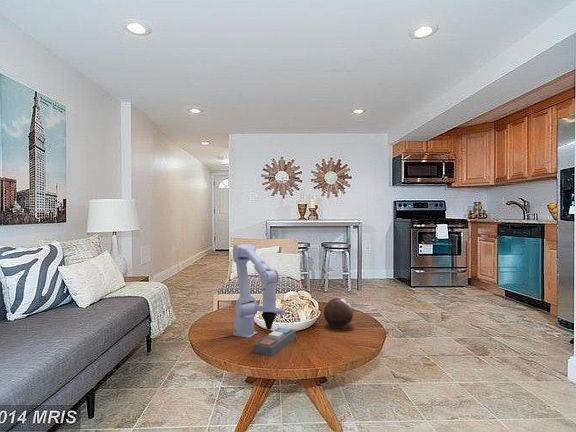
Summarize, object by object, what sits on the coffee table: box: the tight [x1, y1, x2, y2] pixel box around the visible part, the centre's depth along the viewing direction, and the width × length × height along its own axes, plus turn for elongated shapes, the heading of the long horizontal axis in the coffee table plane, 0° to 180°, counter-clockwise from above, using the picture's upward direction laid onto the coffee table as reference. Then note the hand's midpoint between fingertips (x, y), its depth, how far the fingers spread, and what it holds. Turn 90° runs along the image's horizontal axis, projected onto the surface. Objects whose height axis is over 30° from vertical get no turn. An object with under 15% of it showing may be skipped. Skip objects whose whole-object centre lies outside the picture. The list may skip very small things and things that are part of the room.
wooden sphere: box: [323, 297, 354, 329], centre depth 180 cm, size 15×15×15 cm
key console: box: [253, 327, 297, 357], centre depth 156 cm, size 9×24×4 cm, turn 154°
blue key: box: [277, 327, 292, 334], centre depth 164 cm, size 5×5×2 cm
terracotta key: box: [259, 339, 275, 346], centre depth 149 cm, size 5×5×2 cm
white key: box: [267, 330, 283, 340], centre depth 156 cm, size 5×5×2 cm
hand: (269, 328), depth 152 cm, fingers closed
